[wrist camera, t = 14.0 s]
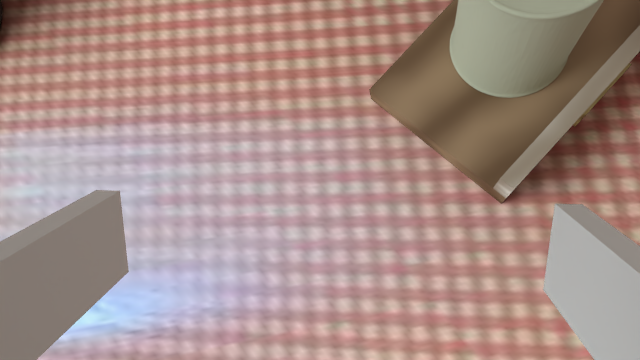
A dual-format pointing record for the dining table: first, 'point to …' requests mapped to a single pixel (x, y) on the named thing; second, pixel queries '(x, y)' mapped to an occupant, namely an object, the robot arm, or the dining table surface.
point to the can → (516, 42)
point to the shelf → (504, 113)
